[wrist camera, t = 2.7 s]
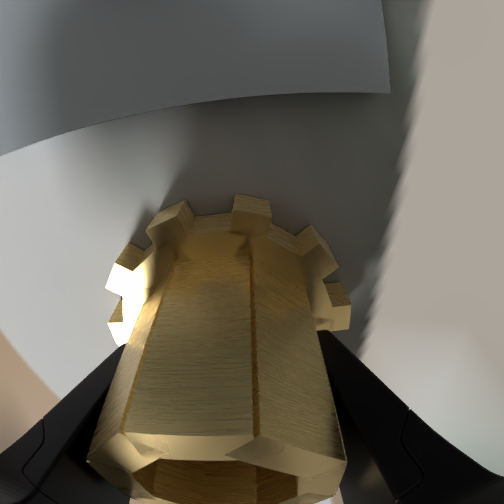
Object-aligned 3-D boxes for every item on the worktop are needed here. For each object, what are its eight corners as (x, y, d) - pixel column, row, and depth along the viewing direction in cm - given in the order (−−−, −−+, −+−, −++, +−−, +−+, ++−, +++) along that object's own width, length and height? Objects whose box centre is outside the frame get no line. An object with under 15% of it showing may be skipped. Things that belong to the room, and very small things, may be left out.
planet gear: (334, 367, 12) (368, 512, 6) (152, 379, 12) (122, 516, 6) (343, 184, 8) (471, 337, 3) (91, 213, 9) (-39, 357, 3)
